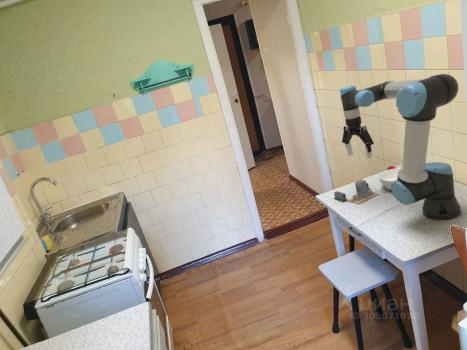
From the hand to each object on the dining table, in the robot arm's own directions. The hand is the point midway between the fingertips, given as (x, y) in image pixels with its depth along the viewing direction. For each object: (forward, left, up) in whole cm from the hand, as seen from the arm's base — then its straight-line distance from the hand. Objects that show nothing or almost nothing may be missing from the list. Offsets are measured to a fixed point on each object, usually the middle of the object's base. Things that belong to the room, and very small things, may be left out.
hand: (359, 156), depth 194 cm
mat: (0, +2, -23) cm, 23 cm away
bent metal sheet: (0, +2, -22) cm, 22 cm away
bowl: (-6, -17, -23) cm, 29 cm away
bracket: (+7, -26, -23) cm, 35 cm away
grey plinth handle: (+9, +2, -23) cm, 24 cm away
